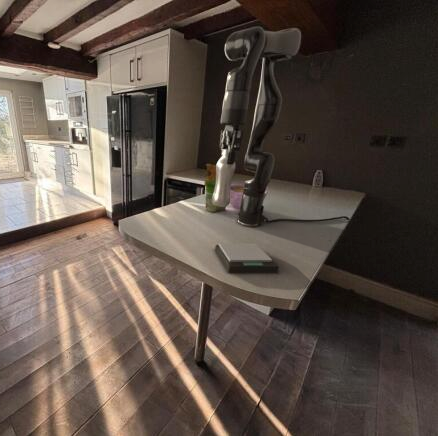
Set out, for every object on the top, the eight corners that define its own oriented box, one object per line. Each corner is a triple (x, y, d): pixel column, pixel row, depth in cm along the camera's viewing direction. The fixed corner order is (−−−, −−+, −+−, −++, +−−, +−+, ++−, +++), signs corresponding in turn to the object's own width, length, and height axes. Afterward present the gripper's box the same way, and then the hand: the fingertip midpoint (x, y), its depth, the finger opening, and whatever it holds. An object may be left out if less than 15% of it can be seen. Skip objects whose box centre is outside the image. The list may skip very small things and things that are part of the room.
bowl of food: (267, 217, 119) (273, 195, 114) (227, 214, 121) (231, 193, 117) (257, 205, 137) (261, 186, 132) (222, 202, 140) (225, 183, 135)
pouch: (228, 213, 123) (236, 165, 114) (207, 213, 122) (213, 165, 112) (219, 206, 133) (226, 162, 124) (199, 206, 132) (205, 162, 122)
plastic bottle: (229, 204, 87) (238, 149, 79) (228, 210, 81) (238, 150, 73) (211, 202, 89) (219, 148, 81) (210, 207, 83) (217, 149, 75)
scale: (256, 250, 87) (258, 242, 86) (277, 272, 74) (279, 264, 73) (214, 250, 86) (216, 242, 85) (228, 272, 73) (229, 264, 72)
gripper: (257, 107, 66) (246, 166, 72) (238, 109, 79) (230, 160, 86) (231, 106, 66) (222, 166, 72) (216, 109, 79) (210, 159, 85)
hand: (226, 162), depth 79 cm, fingers closed on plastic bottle, 6 cm apart
